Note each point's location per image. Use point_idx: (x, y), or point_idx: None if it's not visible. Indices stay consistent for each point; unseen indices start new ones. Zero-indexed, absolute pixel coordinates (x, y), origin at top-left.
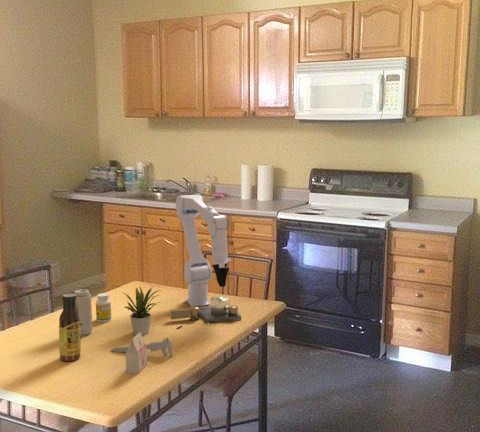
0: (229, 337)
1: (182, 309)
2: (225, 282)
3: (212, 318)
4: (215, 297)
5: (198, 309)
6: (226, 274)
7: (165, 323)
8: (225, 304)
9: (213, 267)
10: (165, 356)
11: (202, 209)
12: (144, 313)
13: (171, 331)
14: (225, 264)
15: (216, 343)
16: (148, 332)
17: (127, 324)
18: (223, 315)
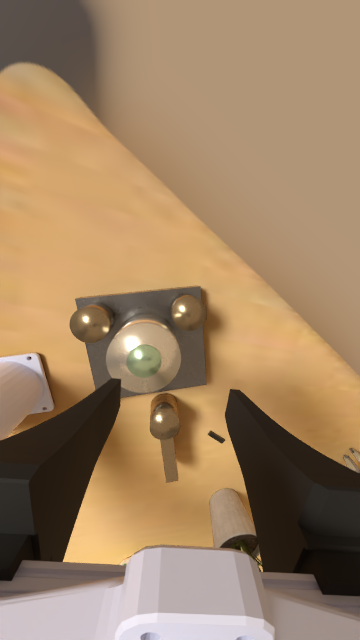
0: (309, 340)
1: (167, 455)
2: (253, 403)
3: (204, 370)
4: (124, 374)
5: (176, 416)
6: (303, 447)
7: (181, 463)
8: (176, 340)
9: (63, 555)
10: (348, 457)
11: None
12: (252, 552)
13: (234, 450)
14: (35, 490)
15: (329, 372)
16: (228, 489)
17: (169, 526)
18: (186, 338)
